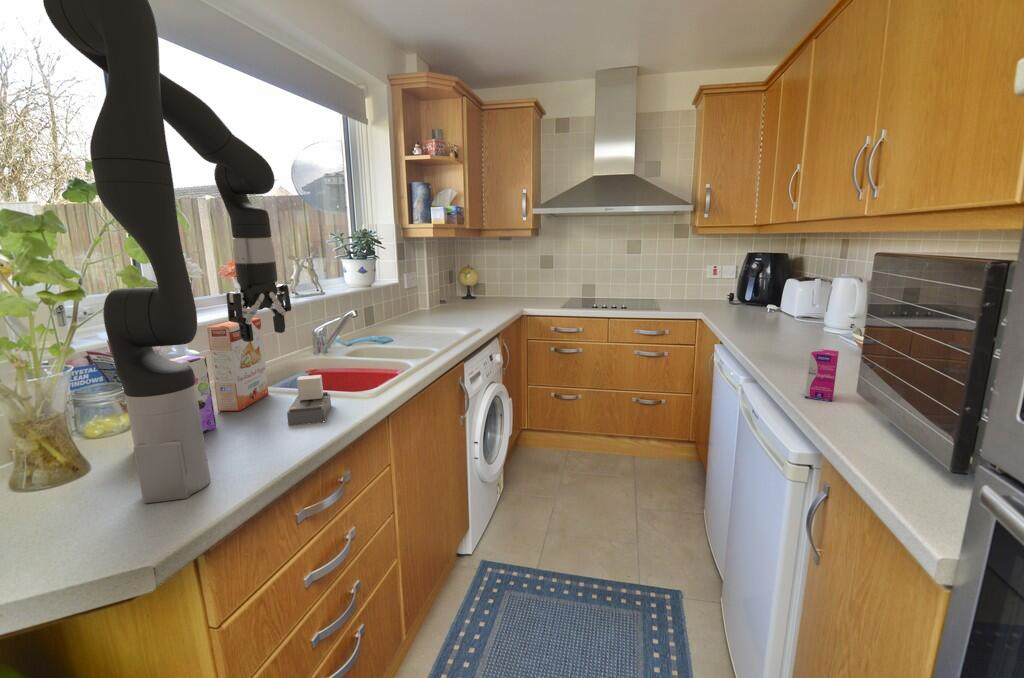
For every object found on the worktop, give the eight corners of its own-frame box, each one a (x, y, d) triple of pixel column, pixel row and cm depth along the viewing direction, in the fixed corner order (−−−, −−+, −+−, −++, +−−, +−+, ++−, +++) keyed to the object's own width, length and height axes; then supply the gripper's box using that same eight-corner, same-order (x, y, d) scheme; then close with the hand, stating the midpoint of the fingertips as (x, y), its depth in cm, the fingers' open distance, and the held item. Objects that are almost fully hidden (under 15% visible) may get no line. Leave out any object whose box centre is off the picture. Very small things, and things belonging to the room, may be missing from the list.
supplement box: (804, 398, 118) (808, 352, 116) (806, 392, 123) (810, 347, 121) (832, 402, 115) (838, 355, 113) (833, 395, 120) (838, 350, 117)
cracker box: (241, 411, 117) (229, 326, 113) (216, 412, 118) (204, 326, 113) (270, 393, 131) (261, 317, 127) (248, 394, 131) (238, 317, 127)
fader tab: (321, 398, 115) (319, 378, 114) (299, 400, 114) (296, 379, 113) (323, 394, 118) (321, 374, 117) (301, 396, 117) (299, 376, 116)
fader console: (324, 422, 109) (323, 406, 109) (288, 425, 108) (286, 410, 107) (331, 405, 120) (329, 391, 120) (298, 408, 119) (296, 394, 118)
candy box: (155, 454, 94) (140, 372, 91) (133, 450, 96) (118, 370, 93) (217, 428, 107) (206, 355, 104) (198, 425, 109) (186, 353, 106)
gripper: (240, 263, 92) (251, 346, 96) (295, 257, 105) (302, 330, 109) (210, 262, 95) (222, 343, 99) (268, 256, 108) (276, 328, 112)
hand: (264, 336), depth 104 cm, fingers open, 8 cm apart
